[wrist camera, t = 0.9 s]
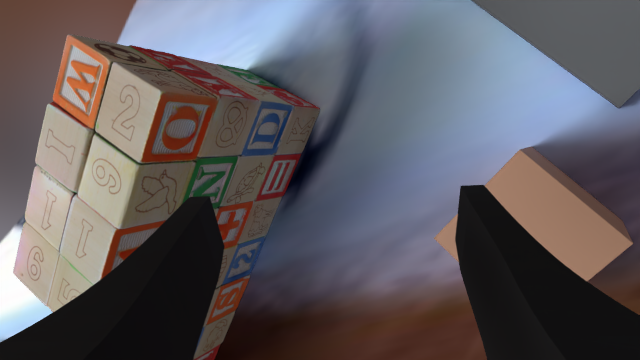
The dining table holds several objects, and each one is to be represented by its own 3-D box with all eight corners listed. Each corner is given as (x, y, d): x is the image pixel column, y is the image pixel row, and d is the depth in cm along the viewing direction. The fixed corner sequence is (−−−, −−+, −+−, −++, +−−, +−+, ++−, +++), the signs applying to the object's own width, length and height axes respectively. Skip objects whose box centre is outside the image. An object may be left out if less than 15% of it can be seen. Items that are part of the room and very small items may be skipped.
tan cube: (622, 220, 21) (633, 243, 16) (538, 291, 23) (528, 329, 18) (531, 146, 22) (519, 149, 18) (460, 219, 24) (433, 238, 20)
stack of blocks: (211, 377, 34) (41, 489, 23) (156, 325, 36) (-21, 405, 26) (323, 106, 28) (159, 89, 17) (246, 66, 30) (61, 29, 19)
